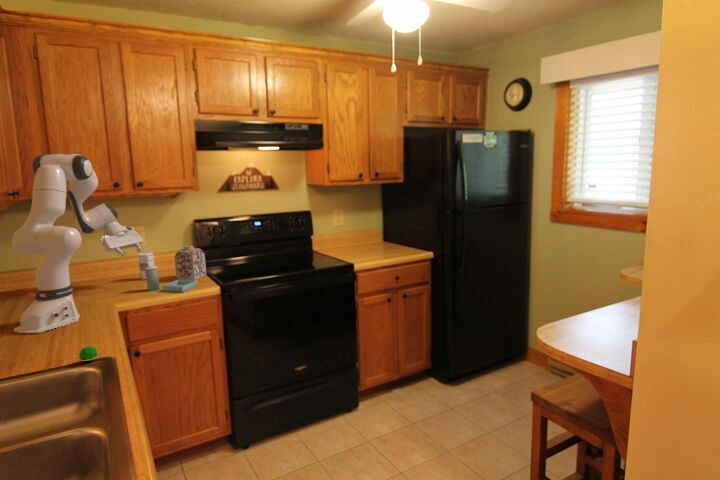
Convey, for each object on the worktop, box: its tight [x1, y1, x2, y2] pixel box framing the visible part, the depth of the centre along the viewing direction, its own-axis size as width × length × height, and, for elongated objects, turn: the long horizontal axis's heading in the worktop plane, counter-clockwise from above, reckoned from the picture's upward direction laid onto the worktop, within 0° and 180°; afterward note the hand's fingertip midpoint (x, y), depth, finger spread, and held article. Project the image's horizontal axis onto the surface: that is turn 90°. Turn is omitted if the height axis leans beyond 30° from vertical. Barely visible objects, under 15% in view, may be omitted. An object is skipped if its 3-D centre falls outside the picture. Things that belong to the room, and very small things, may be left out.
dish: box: [162, 279, 199, 293], centre depth 226 cm, size 12×12×3 cm
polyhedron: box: [78, 345, 99, 361], centre depth 143 cm, size 5×5×5 cm
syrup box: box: [137, 252, 155, 281], centre depth 249 cm, size 6×6×14 cm
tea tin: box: [145, 265, 161, 292], centre depth 226 cm, size 6×6×12 cm
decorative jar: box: [174, 244, 207, 281], centre depth 248 cm, size 12×12×18 cm
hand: (132, 253), depth 229 cm, fingers open, 8 cm apart
